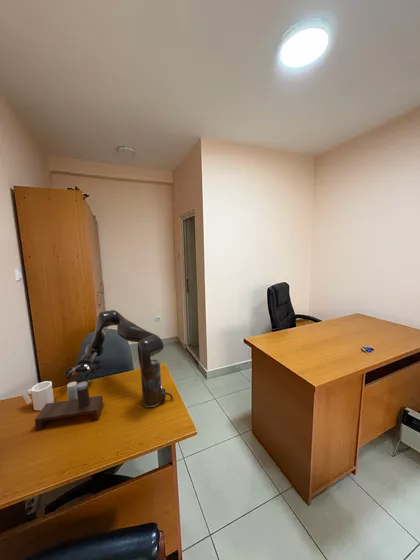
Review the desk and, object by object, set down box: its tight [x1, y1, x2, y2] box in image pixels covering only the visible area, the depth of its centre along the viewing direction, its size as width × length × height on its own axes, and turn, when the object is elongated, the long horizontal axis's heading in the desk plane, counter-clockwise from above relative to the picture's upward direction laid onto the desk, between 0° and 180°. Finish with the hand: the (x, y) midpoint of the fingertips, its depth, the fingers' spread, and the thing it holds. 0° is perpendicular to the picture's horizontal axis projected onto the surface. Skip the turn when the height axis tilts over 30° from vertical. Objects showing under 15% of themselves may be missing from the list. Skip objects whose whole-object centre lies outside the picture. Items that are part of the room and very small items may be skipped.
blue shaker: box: [66, 381, 78, 401], centre depth 111 cm, size 4×4×10 cm
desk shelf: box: [34, 395, 104, 431], centre depth 102 cm, size 24×10×5 cm, turn 102°
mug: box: [22, 380, 55, 412], centre depth 109 cm, size 12×9×10 cm
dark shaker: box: [77, 381, 90, 408], centre depth 102 cm, size 4×4×10 cm
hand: (77, 376), depth 117 cm, fingers open, 8 cm apart
